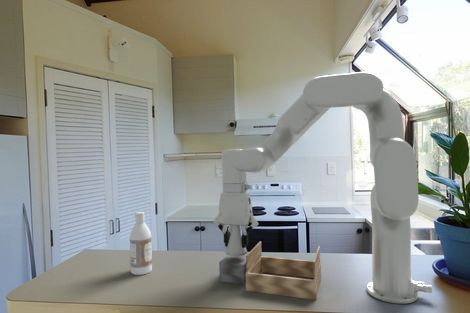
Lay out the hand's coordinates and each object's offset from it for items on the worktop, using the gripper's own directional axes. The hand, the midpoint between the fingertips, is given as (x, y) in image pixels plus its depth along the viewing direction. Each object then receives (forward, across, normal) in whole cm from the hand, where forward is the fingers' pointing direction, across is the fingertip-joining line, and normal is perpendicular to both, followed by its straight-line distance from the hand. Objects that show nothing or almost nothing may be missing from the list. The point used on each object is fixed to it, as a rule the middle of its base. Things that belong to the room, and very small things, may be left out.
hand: (236, 245), depth 101 cm
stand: (+10, 0, 0) cm, 10 cm away
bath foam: (+10, +33, +4) cm, 35 cm away
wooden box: (+10, -15, 0) cm, 18 cm away
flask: (+3, 0, 0) cm, 3 cm away
